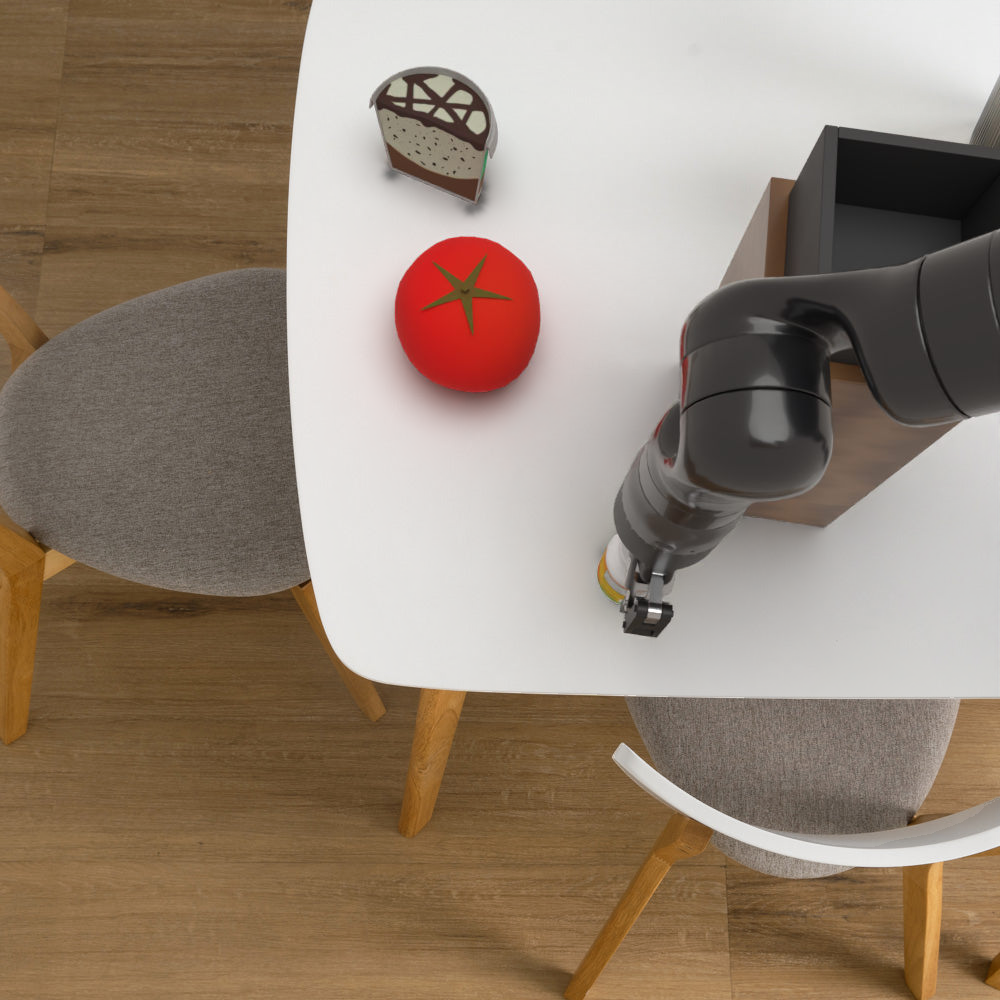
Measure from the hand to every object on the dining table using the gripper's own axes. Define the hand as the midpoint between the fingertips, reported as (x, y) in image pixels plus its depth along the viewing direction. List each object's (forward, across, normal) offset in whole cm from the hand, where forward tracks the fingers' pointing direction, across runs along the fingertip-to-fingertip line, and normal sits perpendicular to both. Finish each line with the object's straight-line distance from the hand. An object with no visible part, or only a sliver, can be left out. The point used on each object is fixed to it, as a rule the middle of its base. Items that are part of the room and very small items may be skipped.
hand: (638, 558), depth 77 cm
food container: (+7, +39, +22) cm, 45 cm away
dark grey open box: (-22, +14, -10) cm, 28 cm away
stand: (+6, +14, -10) cm, 18 cm away
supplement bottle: (+7, 0, 0) cm, 7 cm away
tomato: (+7, +20, +17) cm, 27 cm away
